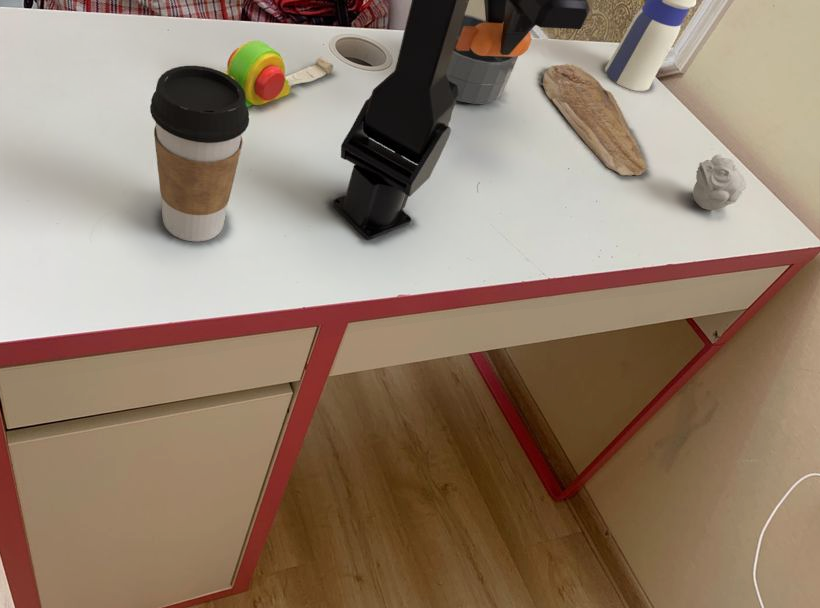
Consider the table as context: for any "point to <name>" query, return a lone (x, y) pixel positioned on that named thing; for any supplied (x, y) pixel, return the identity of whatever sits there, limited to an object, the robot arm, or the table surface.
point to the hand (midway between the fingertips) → (497, 45)
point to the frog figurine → (717, 183)
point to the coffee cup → (197, 147)
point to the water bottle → (647, 43)
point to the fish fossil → (594, 117)
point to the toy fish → (488, 40)
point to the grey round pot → (478, 71)
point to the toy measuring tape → (268, 72)
